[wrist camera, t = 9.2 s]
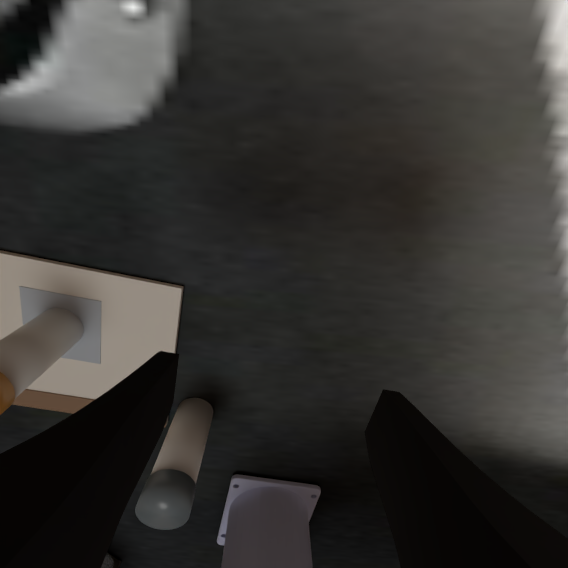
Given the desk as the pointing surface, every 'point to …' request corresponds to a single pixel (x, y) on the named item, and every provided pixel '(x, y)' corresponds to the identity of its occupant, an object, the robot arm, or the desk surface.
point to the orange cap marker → (35, 350)
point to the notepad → (88, 325)
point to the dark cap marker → (176, 468)
